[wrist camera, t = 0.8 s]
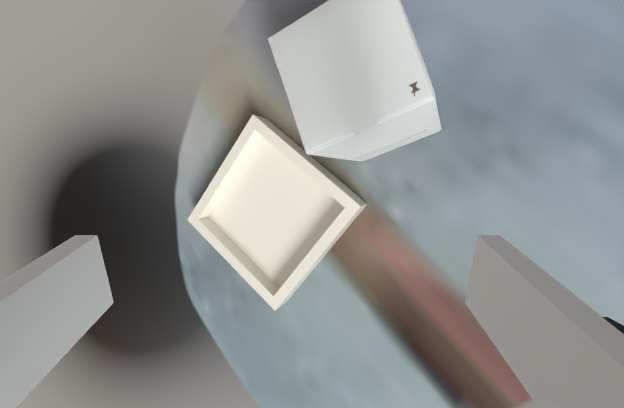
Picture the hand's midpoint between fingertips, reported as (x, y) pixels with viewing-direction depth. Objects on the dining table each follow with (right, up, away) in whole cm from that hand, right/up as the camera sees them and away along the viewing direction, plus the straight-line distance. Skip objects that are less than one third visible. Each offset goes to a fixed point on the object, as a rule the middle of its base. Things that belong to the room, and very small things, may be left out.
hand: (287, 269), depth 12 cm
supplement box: (+9, +12, +23) cm, 28 cm away
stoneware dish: (-4, +1, +29) cm, 29 cm away
